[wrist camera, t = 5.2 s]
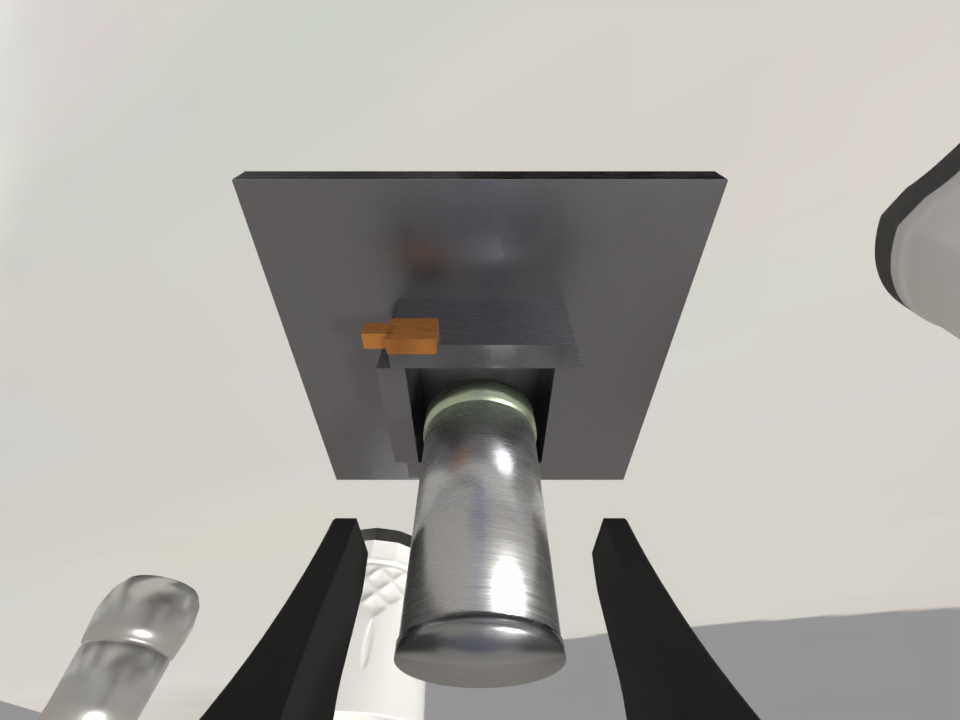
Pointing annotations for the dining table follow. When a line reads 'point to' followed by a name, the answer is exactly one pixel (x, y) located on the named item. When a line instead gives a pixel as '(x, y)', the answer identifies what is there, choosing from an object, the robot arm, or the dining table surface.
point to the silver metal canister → (479, 547)
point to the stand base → (479, 300)
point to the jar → (925, 245)
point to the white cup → (380, 639)
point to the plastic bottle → (125, 650)
